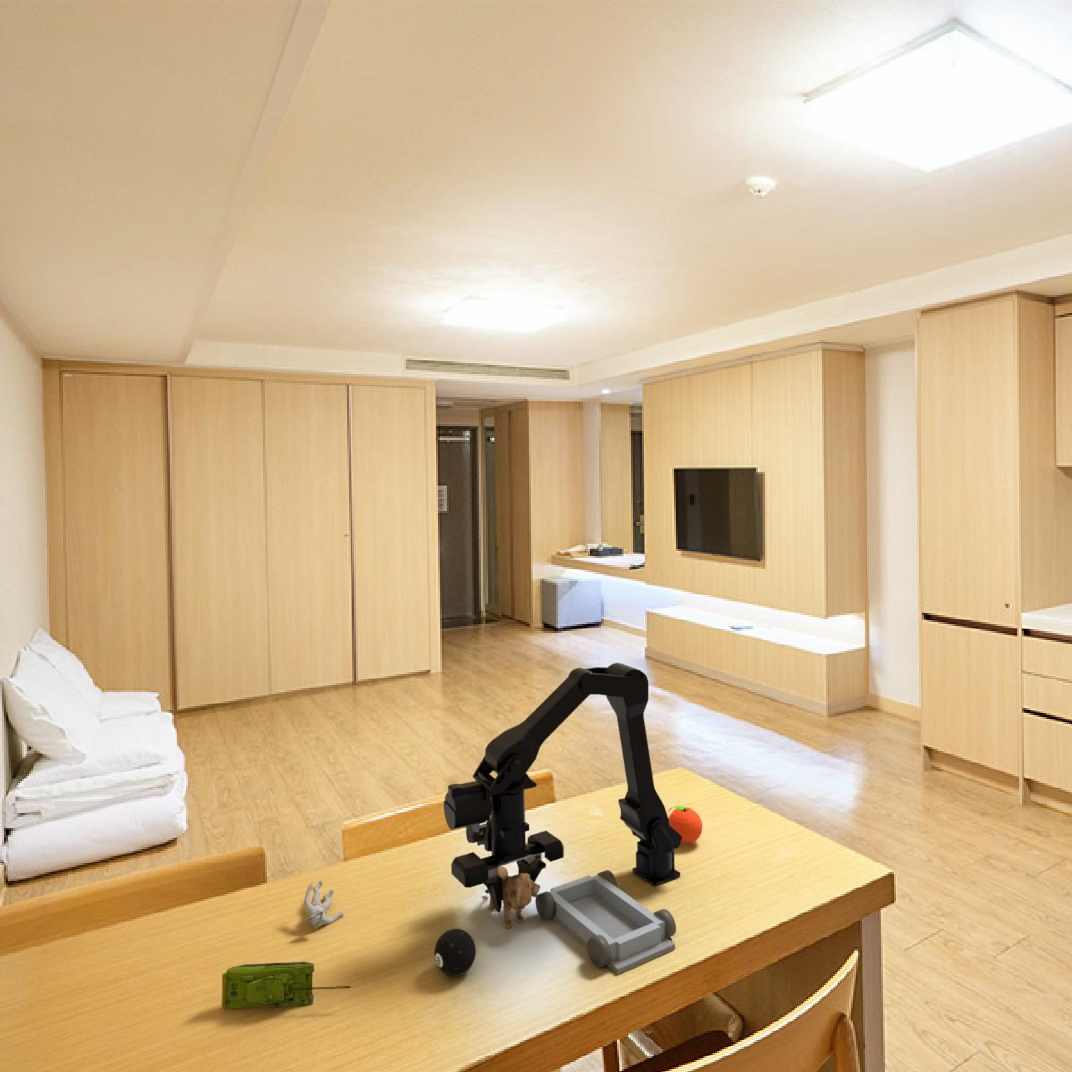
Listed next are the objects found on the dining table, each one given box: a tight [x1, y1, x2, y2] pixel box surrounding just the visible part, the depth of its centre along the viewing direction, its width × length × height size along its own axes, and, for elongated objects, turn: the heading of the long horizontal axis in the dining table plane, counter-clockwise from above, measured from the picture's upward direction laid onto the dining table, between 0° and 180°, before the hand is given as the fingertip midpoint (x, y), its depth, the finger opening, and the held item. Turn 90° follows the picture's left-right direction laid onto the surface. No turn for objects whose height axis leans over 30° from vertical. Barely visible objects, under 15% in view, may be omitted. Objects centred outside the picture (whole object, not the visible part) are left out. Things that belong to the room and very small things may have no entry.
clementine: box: [667, 805, 703, 845], centre depth 150 cm, size 8×7×7 cm
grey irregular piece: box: [303, 880, 346, 930], centre depth 127 cm, size 8×5×12 cm
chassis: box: [534, 869, 677, 975], centre depth 122 cm, size 14×22×4 cm, turn 31°
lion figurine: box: [484, 865, 541, 929], centre depth 126 cm, size 15×5×9 cm, turn 34°
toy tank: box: [221, 961, 352, 1010], centre depth 104 cm, size 7×19×10 cm
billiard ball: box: [433, 928, 477, 977], centre depth 111 cm, size 6×6×6 cm
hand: (510, 907), depth 125 cm, fingers closed on lion figurine, 4 cm apart
